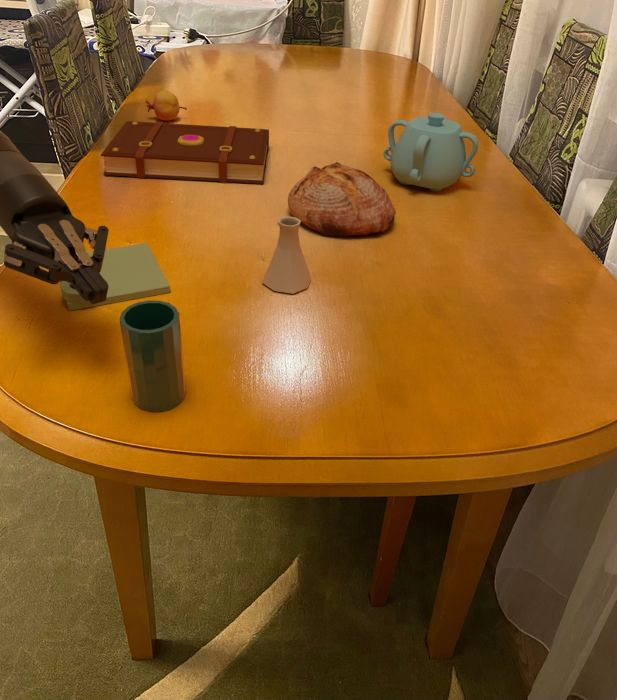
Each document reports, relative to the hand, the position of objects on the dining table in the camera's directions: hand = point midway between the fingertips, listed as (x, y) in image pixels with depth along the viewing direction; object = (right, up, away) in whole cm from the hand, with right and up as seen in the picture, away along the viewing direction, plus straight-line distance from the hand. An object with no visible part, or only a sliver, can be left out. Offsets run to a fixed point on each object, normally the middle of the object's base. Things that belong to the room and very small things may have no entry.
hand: (100, 297), depth 67 cm
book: (-2, +35, +63) cm, 72 cm away
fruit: (-12, +51, +83) cm, 99 cm away
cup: (+6, -11, +3) cm, 13 cm away
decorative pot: (+47, +30, +61) cm, 83 cm away
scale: (-6, +5, +23) cm, 25 cm away
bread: (+29, +18, +44) cm, 55 cm away
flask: (+20, +4, +25) cm, 32 cm away
